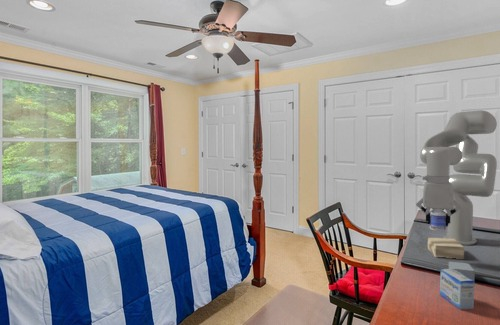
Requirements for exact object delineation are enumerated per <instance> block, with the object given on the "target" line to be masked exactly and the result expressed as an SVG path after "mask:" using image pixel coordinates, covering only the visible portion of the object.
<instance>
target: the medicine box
mask: <svg viewBox="0 0 500 325" xmlns="http://www.w3.org/2000/svg"><path fill="white" fill-rule="evenodd" d="M439 278H440V281H439V282H440V284H439V286H440V287H439V296H441V297H442V299H444V300H446V301H447V302H449V303H450V304H452V305H453V306H454V307H456V308H457V309H459V310H461V311H462V310H473V309H474V308H475V307H474V306H475V279H474V280H472V279H470V278H468V277H466V276H465V275H463V274H461V273H459V272H458V271H456V270H454V269H449V268H443V269H440V277H439Z"/></svg>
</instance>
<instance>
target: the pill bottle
mask: <svg viewBox="0 0 500 325" xmlns="http://www.w3.org/2000/svg"><path fill="white" fill-rule="evenodd" d="M429 213H430V224H429V229H430V230H431V231H434V232H445V231H447V230H446V229H447V225H446V213H447V212H446V211H445V209H434V208H431V209H430V211H429Z"/></svg>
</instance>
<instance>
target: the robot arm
mask: <svg viewBox="0 0 500 325" xmlns="http://www.w3.org/2000/svg"><path fill="white" fill-rule="evenodd" d="M497 123H498V122H497V119H496V116H494V115H493V114H492V113H491V112H489V111H486V110H482V109H481V110H470V111H458V112H456V113H454V114H452V115H451V116H450V118H449V120H448V122H447V124H446V126H445V128H444V130H443V131H441V132H438V133H437V134H435V135H433V136H431V137H430V138H428V139H427V140H426V141H425V142H424V145H423V146H422V149H420V155H419V157H420V161H421V162H422V163H423V164H425V165H426V175H424V176H422V181H423V180H424V181H426V182H424V185H423V191H422V192H423V193H422V198H421V199H420V200H419V201H417V202H416V203H415V204H416V207H417V208H418V209H420V210H421V211H422V212H423V213H424V214H425V221H426V222H427V224H428V225H430V211H431V210H432V208H434V209H444V210H445V212H446V227H447V228H446V229H447V230H446V231H447V232H446V234H444V235H443V237H442V238H450V239H455V240H456V241H457V242H458V243H460V244H461V245H462V246H463V245H465V246H471V245H475V244H477V242H478V241H477V239H476V238H474V237H473V230H474V229H473V226H474V225H473V224H474V223H473V222H474V221H473V219H474V205H473V203H472V201H471V199H470V198H469V196H472V197H481V198H488V197H491V196H492V195H493V193H494V190H495V185H496V184H495V183H496V182H495V181H496V174H497V167H498V166H497V159H496V157H495V156H494V154H492V153H491V154H490V153H478V150H479V144H478V143H477V142H476V140H475V139H474V138H472V137H471V136H470V135H486V134H488V135H489V134H493V133H494V132H495V131H496V129H497V125H498V124H497ZM451 166H452V168H453V171H454V172H456V173H454V174H453V173H452V174H450V170H451V169H450V168H451Z"/></svg>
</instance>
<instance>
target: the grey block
mask: <svg viewBox="0 0 500 325" xmlns="http://www.w3.org/2000/svg"><path fill="white" fill-rule="evenodd" d="M448 269H454V270H456V271H458V272H459V273H461V274H463V275H465V276H466V277H468V278H470V279H472V280H474V281H475V277H476V276H475V272H476V271H475V269H474V268H473V267H472V266H471V264H470V263H465V262H457V261H456V262H455V261H448Z"/></svg>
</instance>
